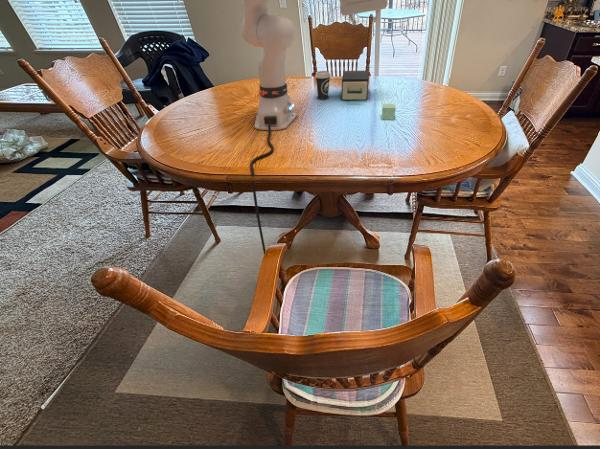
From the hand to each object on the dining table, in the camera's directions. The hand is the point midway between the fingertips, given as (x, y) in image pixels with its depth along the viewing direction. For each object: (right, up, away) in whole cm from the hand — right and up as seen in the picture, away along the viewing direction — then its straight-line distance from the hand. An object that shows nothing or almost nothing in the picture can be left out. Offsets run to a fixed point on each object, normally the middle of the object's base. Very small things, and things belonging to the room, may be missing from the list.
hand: (364, 23), depth 137 cm
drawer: (-2, -26, +16) cm, 31 cm away
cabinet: (-1, -24, +20) cm, 31 cm away
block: (+9, -44, -4) cm, 45 cm away
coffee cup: (-17, -25, +20) cm, 37 cm away
